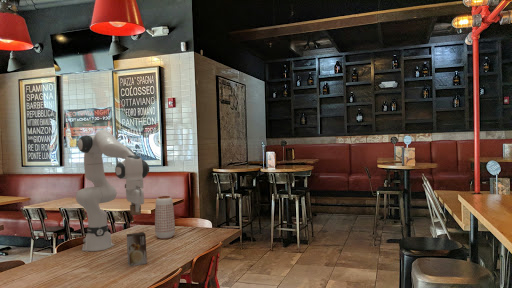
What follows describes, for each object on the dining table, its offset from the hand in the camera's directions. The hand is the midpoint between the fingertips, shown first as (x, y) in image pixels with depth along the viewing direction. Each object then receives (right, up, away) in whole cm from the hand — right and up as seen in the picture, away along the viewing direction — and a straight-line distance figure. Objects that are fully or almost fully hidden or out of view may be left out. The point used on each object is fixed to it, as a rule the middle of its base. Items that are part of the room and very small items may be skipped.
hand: (135, 211), depth 199 cm
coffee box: (+1, -29, 0) cm, 28 cm away
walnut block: (0, -2, 0) cm, 2 cm away
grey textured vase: (+2, -29, +56) cm, 63 cm away
